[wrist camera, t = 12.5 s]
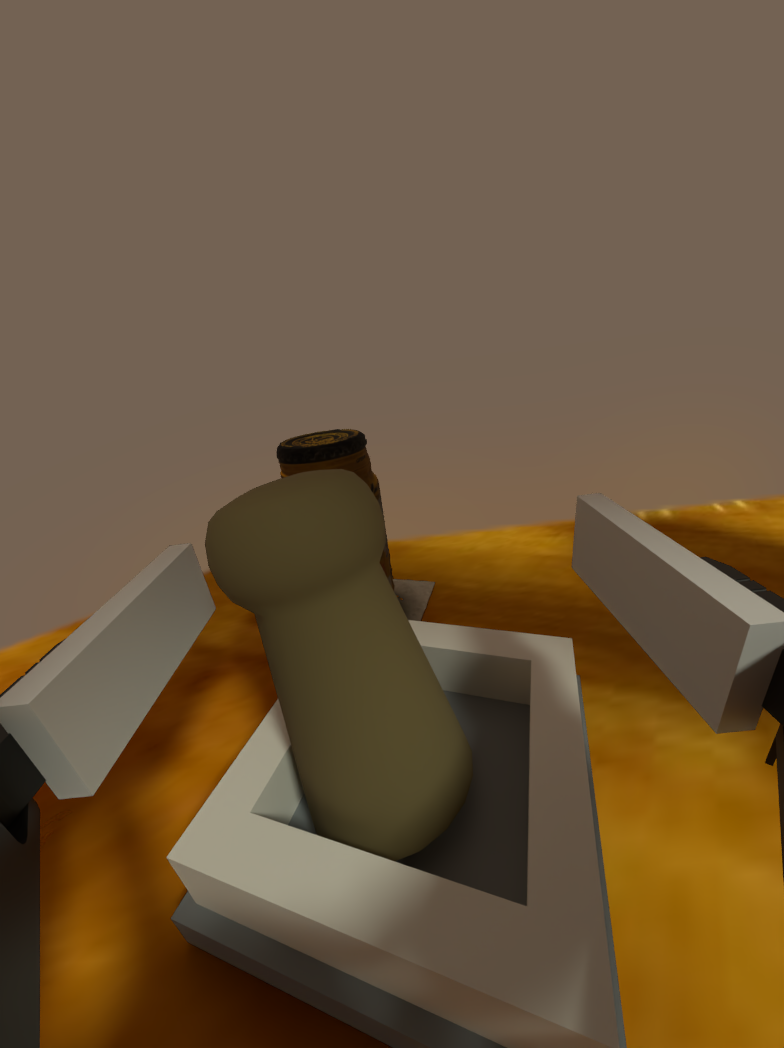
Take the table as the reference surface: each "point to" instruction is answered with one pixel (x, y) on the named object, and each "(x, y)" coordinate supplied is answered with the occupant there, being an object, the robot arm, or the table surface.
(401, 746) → the cork
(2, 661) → the table surface
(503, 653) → the collar holder
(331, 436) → the condiment
